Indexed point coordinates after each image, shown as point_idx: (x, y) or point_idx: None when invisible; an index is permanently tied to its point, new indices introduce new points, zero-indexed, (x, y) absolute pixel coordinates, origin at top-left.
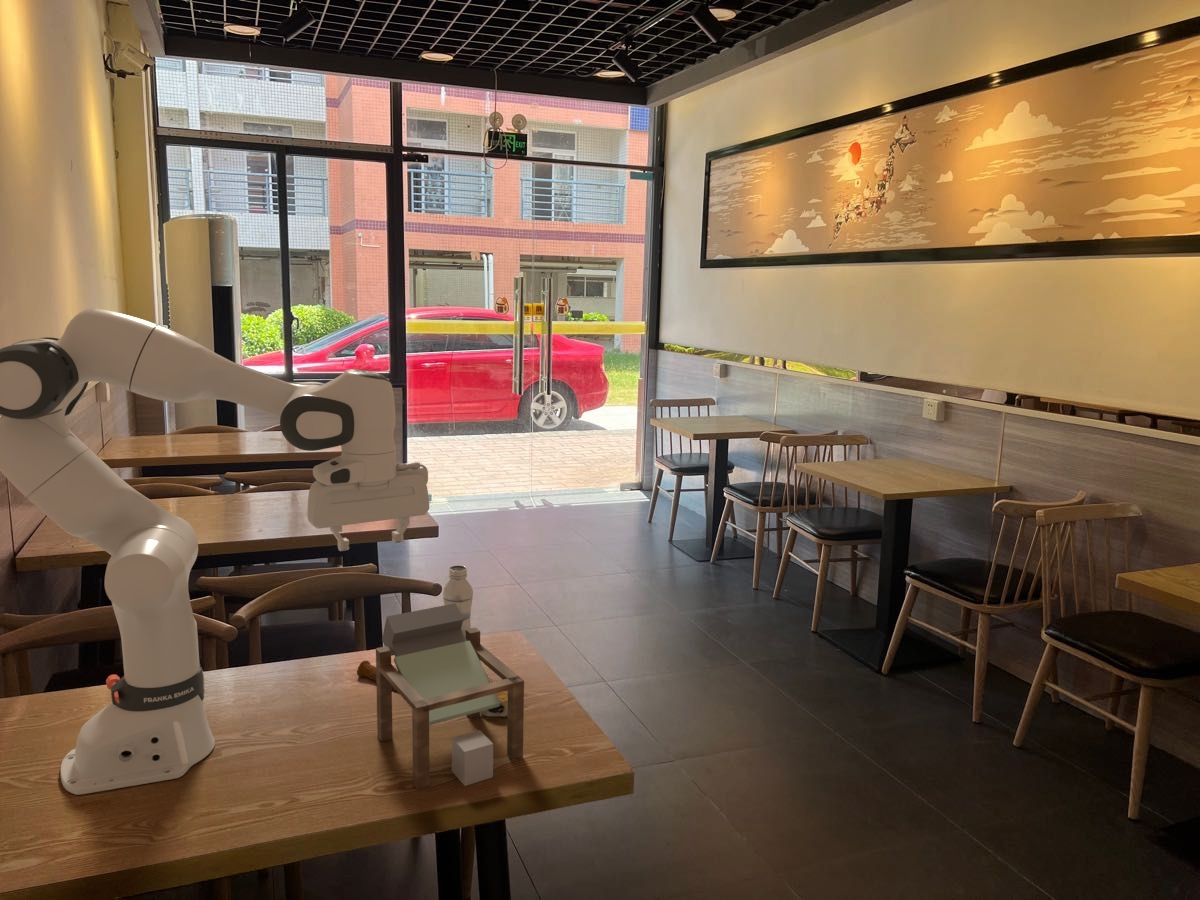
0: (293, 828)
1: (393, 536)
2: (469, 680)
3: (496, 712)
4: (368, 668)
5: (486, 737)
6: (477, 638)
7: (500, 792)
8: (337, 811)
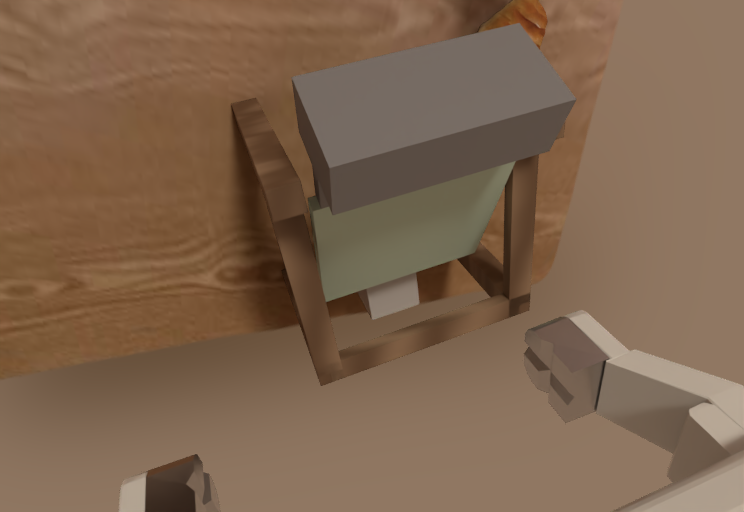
0: (88, 348)
1: (551, 370)
2: (451, 231)
3: None
4: None
5: (416, 286)
6: None
7: None
8: (157, 319)
